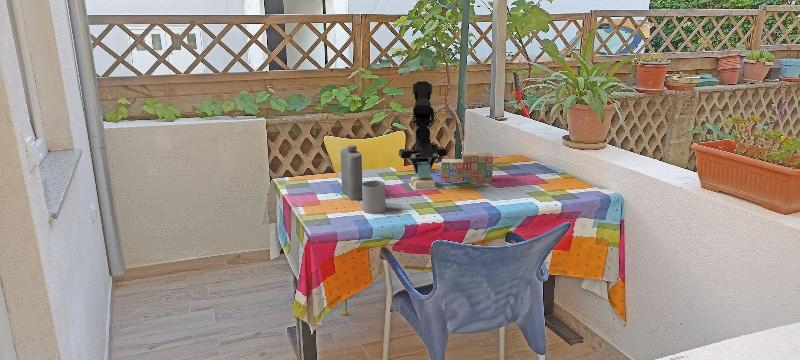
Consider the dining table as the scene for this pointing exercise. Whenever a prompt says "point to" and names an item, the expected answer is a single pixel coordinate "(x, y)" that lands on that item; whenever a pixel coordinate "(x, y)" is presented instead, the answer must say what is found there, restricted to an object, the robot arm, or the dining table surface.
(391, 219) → the dining table surface
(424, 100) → the robot arm
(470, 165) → the stack of blocks
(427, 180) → the maple slab
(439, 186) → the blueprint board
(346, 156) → the flask
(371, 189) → the cup
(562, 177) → the dining table surface
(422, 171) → the teal cube
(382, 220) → the dining table surface
